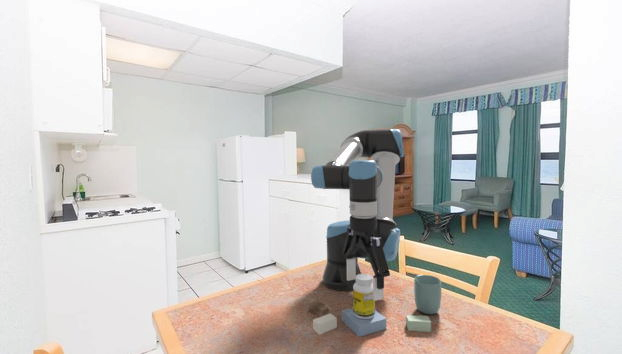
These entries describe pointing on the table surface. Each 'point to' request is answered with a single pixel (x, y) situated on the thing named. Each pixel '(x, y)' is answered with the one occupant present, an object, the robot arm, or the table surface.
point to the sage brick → (418, 323)
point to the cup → (427, 293)
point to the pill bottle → (363, 297)
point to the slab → (363, 323)
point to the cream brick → (324, 323)
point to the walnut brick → (318, 308)
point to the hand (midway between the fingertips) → (363, 288)
